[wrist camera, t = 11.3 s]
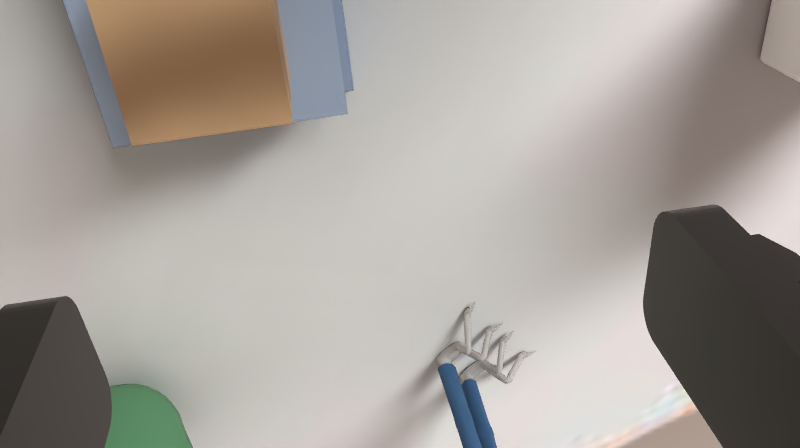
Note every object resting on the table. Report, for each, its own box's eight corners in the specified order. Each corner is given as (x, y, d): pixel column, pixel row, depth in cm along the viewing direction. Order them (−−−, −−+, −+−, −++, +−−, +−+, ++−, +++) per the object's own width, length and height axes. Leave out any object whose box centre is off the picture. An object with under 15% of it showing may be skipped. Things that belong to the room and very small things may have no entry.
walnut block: (114, -53, 26) (79, -19, 21) (264, -71, 26) (262, -41, 22) (154, 89, 29) (132, 146, 24) (289, 71, 29) (292, 123, 25)
